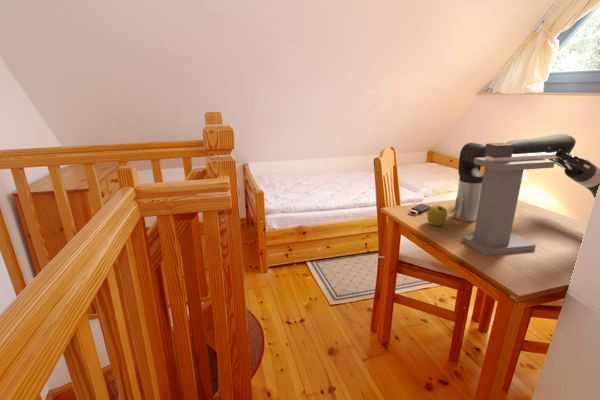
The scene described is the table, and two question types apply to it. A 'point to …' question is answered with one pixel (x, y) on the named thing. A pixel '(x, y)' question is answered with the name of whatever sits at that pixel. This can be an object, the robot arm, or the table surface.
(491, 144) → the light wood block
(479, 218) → the gray stand
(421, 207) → the usb drive
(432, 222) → the apple
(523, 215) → the table surface
